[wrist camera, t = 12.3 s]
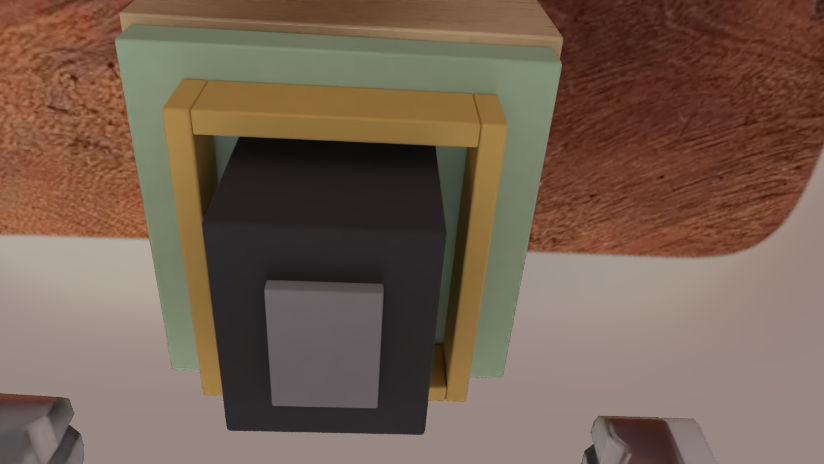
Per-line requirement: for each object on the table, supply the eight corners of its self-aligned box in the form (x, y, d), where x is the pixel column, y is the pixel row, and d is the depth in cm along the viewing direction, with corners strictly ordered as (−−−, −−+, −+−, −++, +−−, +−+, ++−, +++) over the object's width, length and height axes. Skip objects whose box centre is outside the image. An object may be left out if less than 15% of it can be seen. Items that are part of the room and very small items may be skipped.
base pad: (553, 46, 14) (581, 92, 12) (498, 352, 19) (511, 423, 17) (129, 23, 14) (82, 66, 12) (181, 343, 18) (154, 415, 16)
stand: (491, -68, 24) (564, 37, 14) (464, 160, 29) (504, 358, 19) (233, -85, 24) (117, 12, 14) (250, 150, 28) (174, 349, 18)
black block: (435, 139, 14) (448, 241, 11) (418, 323, 17) (425, 448, 14) (239, 130, 14) (195, 232, 11) (254, 318, 17) (223, 444, 13)
